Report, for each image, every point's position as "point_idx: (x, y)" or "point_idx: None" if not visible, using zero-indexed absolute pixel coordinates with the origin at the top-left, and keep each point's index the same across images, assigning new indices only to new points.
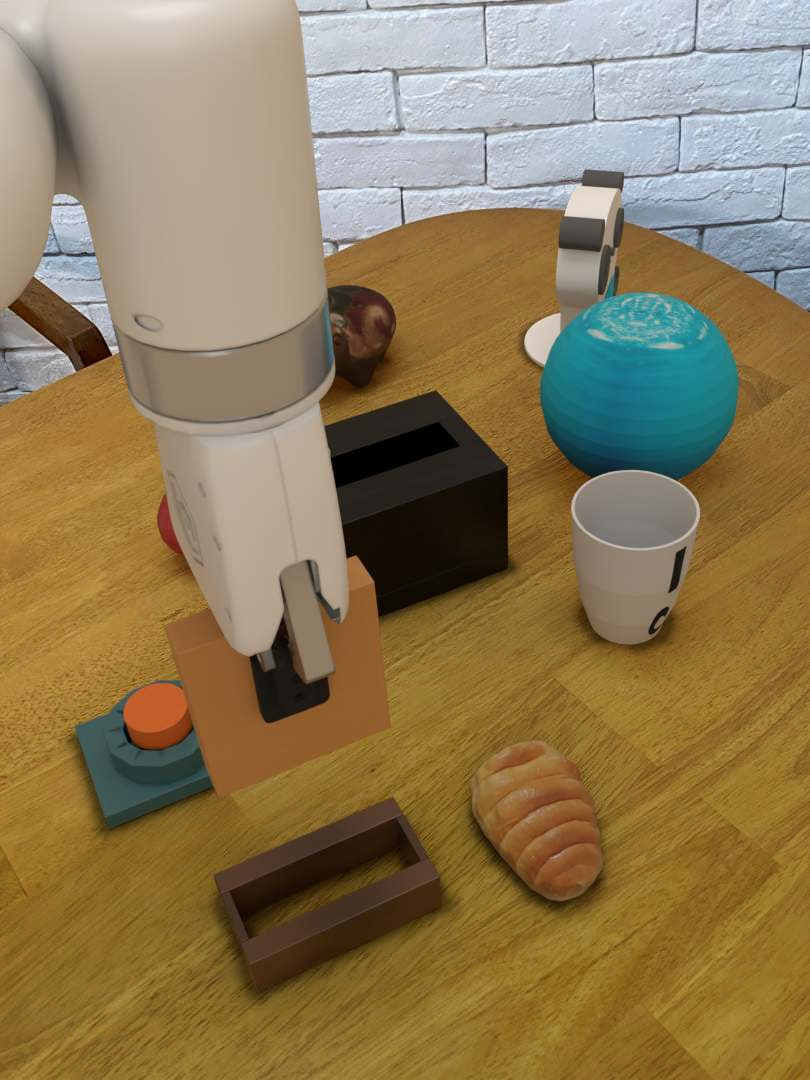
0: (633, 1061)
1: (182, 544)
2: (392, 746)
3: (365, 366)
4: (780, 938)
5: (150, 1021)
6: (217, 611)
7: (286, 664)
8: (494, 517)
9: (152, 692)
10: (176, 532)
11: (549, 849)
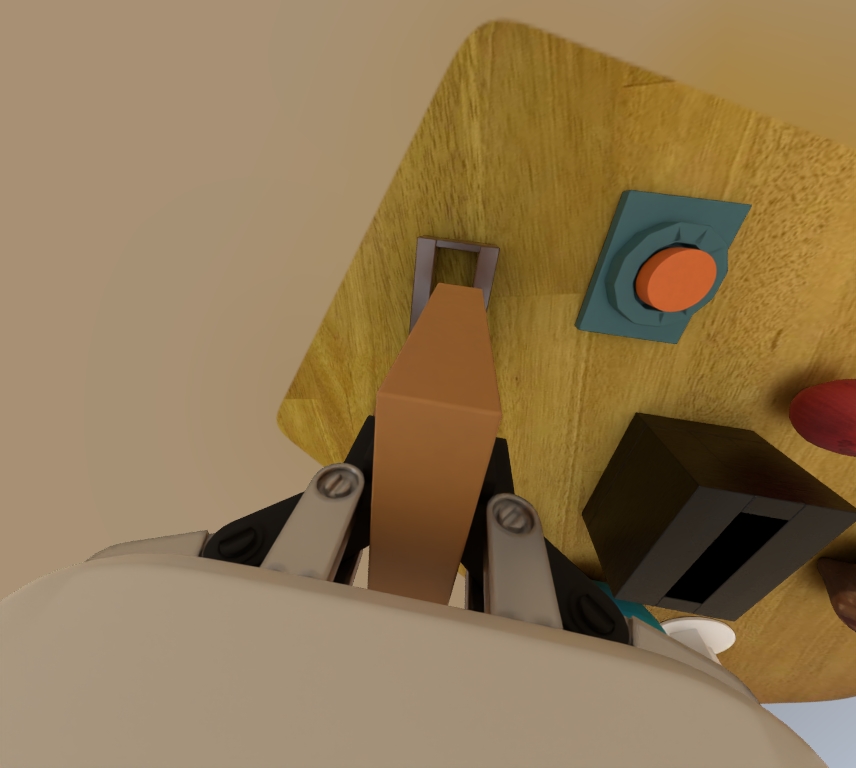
0: (298, 379)
1: (611, 753)
2: (522, 397)
3: (834, 583)
4: (321, 456)
5: (447, 152)
6: (120, 676)
7: (218, 532)
8: (601, 550)
9: (699, 287)
10: (716, 751)
11: None
